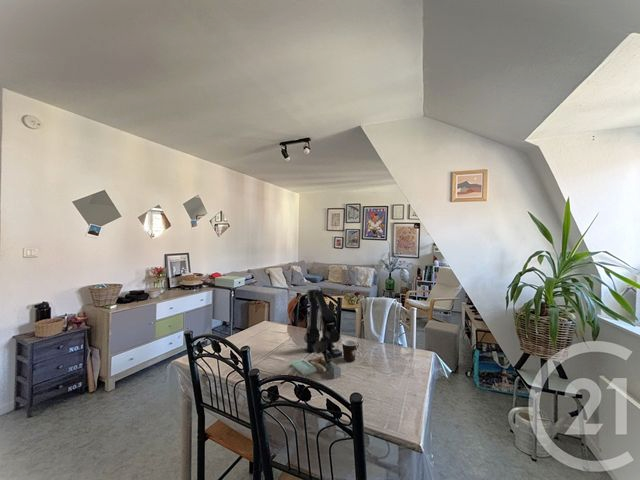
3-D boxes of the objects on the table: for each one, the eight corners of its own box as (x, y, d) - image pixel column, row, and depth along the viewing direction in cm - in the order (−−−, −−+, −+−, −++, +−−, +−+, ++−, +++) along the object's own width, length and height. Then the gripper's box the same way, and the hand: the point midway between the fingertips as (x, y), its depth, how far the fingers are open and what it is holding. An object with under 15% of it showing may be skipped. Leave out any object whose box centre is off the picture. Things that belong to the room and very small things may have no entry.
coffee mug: (345, 363, 159) (345, 346, 159) (340, 357, 168) (340, 340, 168) (363, 361, 163) (363, 344, 162) (357, 355, 171) (358, 339, 171)
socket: (307, 363, 159) (307, 360, 159) (321, 359, 164) (321, 356, 164) (320, 372, 149) (320, 369, 149) (334, 368, 154) (334, 364, 154)
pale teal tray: (291, 365, 157) (291, 362, 157) (303, 362, 161) (303, 358, 161) (304, 375, 145) (304, 372, 145) (317, 371, 150) (317, 368, 150)
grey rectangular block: (325, 372, 149) (325, 363, 149) (332, 370, 151) (332, 361, 151) (334, 379, 142) (334, 369, 142) (340, 377, 145) (340, 367, 144)
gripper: (305, 333, 154) (305, 361, 155) (325, 344, 139) (325, 375, 139) (322, 330, 161) (322, 356, 161) (342, 340, 145) (342, 369, 145)
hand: (327, 364), depth 151 cm, fingers closed
